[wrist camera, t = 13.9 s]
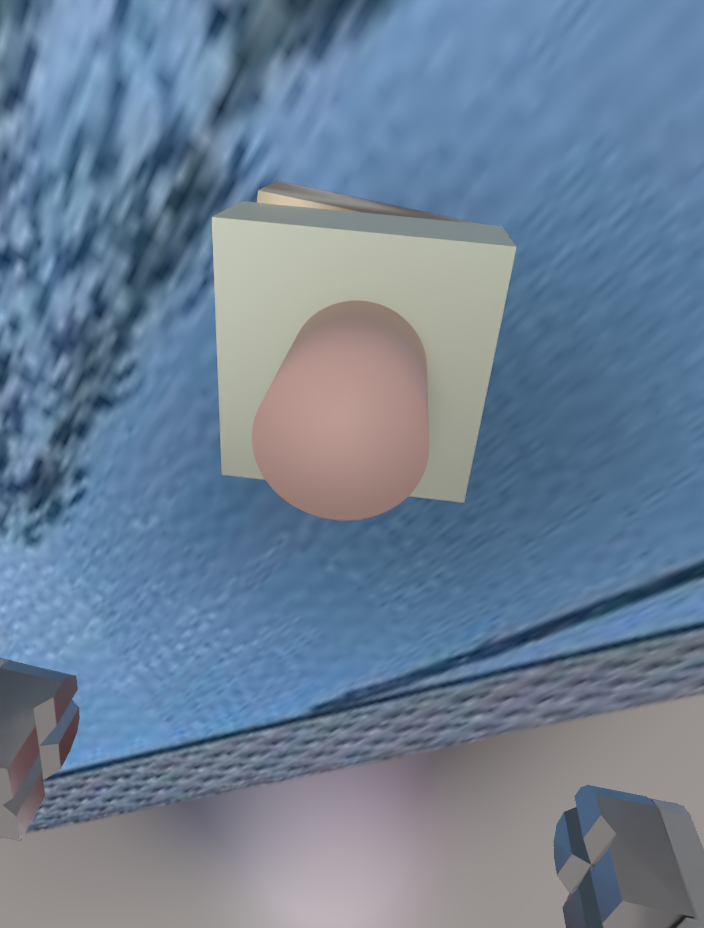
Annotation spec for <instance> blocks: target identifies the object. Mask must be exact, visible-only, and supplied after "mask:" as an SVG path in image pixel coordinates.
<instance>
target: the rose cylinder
mask: <svg viewBox="0 0 704 928" xmlns="http://www.w3.org/2000/svg"><path fill="white" fill-rule="evenodd" d="M252 447H253V452H254V456H255V460H256V463H257V465H258V467H259V470H260V472H261V473H262V475H263V477H264V479H265V480H266V481H267V483H268V484H269V485H270V487H271V488H272V489H273V490H274V491H275V492H276V493H277V494H278V495H279V496H281V497H282V498H283V499H284V500H285V501H287V502H288V503H290V504H291V505H293V506H294V507H296V508H298V509H300V510H302V511H304V512H306V513H309V514H311V515H314V516H317V517H321V518H325V519H331V520H343V521H350V520H361V519H366V518H370V517H374V516H377V515H380V514H382V513H384V512H387V511H389V510H391V509H392V508H394V507H396V506H397V505H399V504H400V503H401V502H402V501H404V500H405V499H406V498H407V497H408V496H409V495H410V494H411V493H412V492H413V491H414V489H415V488H416V487H417V485H418V484H419V482H420V480H421V478H422V477H423V474H424V472H425V469H426V466H427V462H428V457H429V418H428V386H427V362H426V355H425V350H424V347H423V345H422V342H421V340H420V338H419V336H418V334H417V333H416V331H415V330H414V329H413V327H412V326H411V325H410V324H409V323H408V322H407V321H406V320H405V319H404V318H403V317H402V316H401V315H399V314H398V313H397V312H395V311H393V310H391V309H390V308H388V307H385V306H383V305H380V304H377V303H373V302H368V301H353V300H352V301H344V302H340V303H336V304H333V305H330V306H328V307H325V308H324V309H322V310H320V311H319V312H317V313H316V314H315V315H313V316H312V317H311V318H310V319H309V320H308V321H307V322H306V323H305V324H304V325H303V327H302V328H301V329H300V331H299V333H298V334H297V336H296V338H295V340H294V342H293V344H292V346H291V348H290V350H289V351H288V353H287V355H286V357H285V359H284V361H283V363H282V365H281V366H280V368H279V370H278V372H277V374H276V376H275V378H274V380H273V382H272V383H271V385H270V387H269V389H268V391H267V393H266V395H265V397H264V398H263V400H262V402H261V404H260V406H259V408H258V410H257V413H256V415H255V418H254V422H253V428H252Z"/></svg>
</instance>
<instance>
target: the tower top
mask: <svg viewBox="0 0 704 928" xmlns="http://www.w3.org/2000/svg"><path fill="white" fill-rule="evenodd" d="M212 235H213V261H214V287H215V313H216V339H217V365H218V390H219V416H220V442H221V468H222V475H229V476H238V477H246V478H255V479H263V480H265V479H264V477H263V475H262V473H261V472H260V470H259V467H258V465H257V463H256V460H255V456H254V452H253V447H252V428H253V422H254V418H255V415H256V413H257V410H258V408H259V406H260V404H261V402H262V400H263V398H264V397H265V395H266V393H267V391H268V389H269V387H270V385H271V383H272V382H273V380H274V378H275V376H276V374H277V372H278V370H279V368H280V366H281V365H282V363H283V361H284V359H285V357H286V355H287V353H288V351H289V350H290V348H291V346H292V344H293V342H294V340H295V338H296V336H297V334H298V333H299V331H300V329H301V328H302V327H303V325H304V324H305V323H306V322H307V321H308V320H309V319H310V318H311V317H312V316H313V315H315V314H316V313H317V312H319V311H320V310H322V309H324V308H325V307H328V306H330V305H333V304H336V303H340V302H344V301H352V300H353V301H368V302H373V303H377V304H380V305H383V306H385V307H388V308H390V309H391V310H393V311H395V312H397V313H398V314H399V315H401V316H402V317H403V318H404V319H405V320H406V321H407V322H408V323H409V324H410V325H411V326H412V327H413V329H414V330H415V331H416V333H417V334H418V336H419V338H420V340H421V342H422V345H423V347H424V350H425V355H426V362H427V386H428V418H429V457H428V462H427V466H426V469H425V472H424V474H423V477H422V478H421V480H420V482H419V484H418V485H417V487H416V488H415V489H414V491H413V492H412V493H411V494H410V495H409V496H410V497H419V498H427V499H436V500H445V501H453V502H462V503H464V501H465V496H466V491H467V486H468V481H469V477H470V472H471V467H472V462H473V457H474V452H475V447H476V443H477V438H478V433H479V428H480V423H481V418H482V413H483V408H484V404H485V399H486V394H487V389H488V384H489V379H490V374H491V369H492V365H493V360H494V355H495V350H496V345H497V340H498V335H499V331H500V326H501V321H502V316H503V311H504V306H505V301H506V296H507V292H508V287H509V282H510V277H511V272H512V267H513V262H514V258H515V253H516V248H517V246H516V245H515V244H514V242H513V241H512V239H511V238H510V237H509V235H508V234H507V232H506V231H505V229H504V228H503V227H502V226H496V225H485V224H475V223H465V222H454V221H444V220H433V219H423V218H413V217H402V216H392V215H382V214H371V213H361V212H350V211H340V210H330V209H319V208H309V207H298V206H288V205H278V204H267V203H257V202H246V201H241V202H239V203H237V204H236V205H234V206H232V207H230V208H228V209H226V210H224V211H222V212H220V213H218V214H217V215H215V216H213V217H212Z"/></svg>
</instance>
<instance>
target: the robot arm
mask: <svg viewBox="0 0 704 928" xmlns="http://www.w3.org/2000/svg"><path fill="white" fill-rule="evenodd" d="M77 690H78V687H77V679H76V676H75V675H71V674H67V673H62V672H58V671H54V670H49V669H45V668H40V667H36V666H32V665H27V664H23V663H19V662H14V661H12V660H7V659H2V658H0V837H1V838H6V839H12V840H17V841H21V839H22V837H23V836H24V834H25V832H26V830H27V828H28V827H29V825H30V823H31V821H32V819H33V818H34V816H35V814H36V812H37V810H38V809H39V807H40V805H41V803H42V802H43V800H44V798H45V791H44V782H43V780H44V779H46V778H47V777H49V776H50V775H52V774H53V773H55V772H56V771H58V770H59V769H61V767H62V765H63V763H64V761H65V760H66V758H67V756H68V754H69V752H70V750H71V747H72V745H73V742H74V739H75V736H76V734H77V730H78V724H79V718H80V717H79V707H78V706H77V705H76V704H75V703H74V701H73V700H72V698H73V697H74V695H75V693H76V692H77ZM575 801H576V806H577V807H575V808H573V809H570V810H568V811H565V812H564V813H563V815H562V817H561V818H560V820H559V821H558V823H557V826H556V832H555V838H554V859H555V866H556V871H557V876H558V877H559V879H560V880H561V882H562V883H563V884H564V886H565V887H566V889H567V890H568V891H569V895H568V897H567V900H566V902H565V904H564V906H563V913H564V919H565V925H566V928H704V849H703V847H702V844H701V842H700V839H699V836H698V834H697V831H696V829H695V826H694V823H693V821H692V818H691V816H690V814H689V812H688V811H687V810H686V809H685V807H684V806H681V805H678V804H676V803H671V802H666V801H661V800H655V799H650V798H647V797H646V796H641V795H636V794H631V793H625V792H620V791H616V790H611V789H605V788H600V787H595V786H590V785H587V786H583V787H581V788H580V789H579V791H578V792H577V794H576V795H575Z"/></svg>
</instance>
